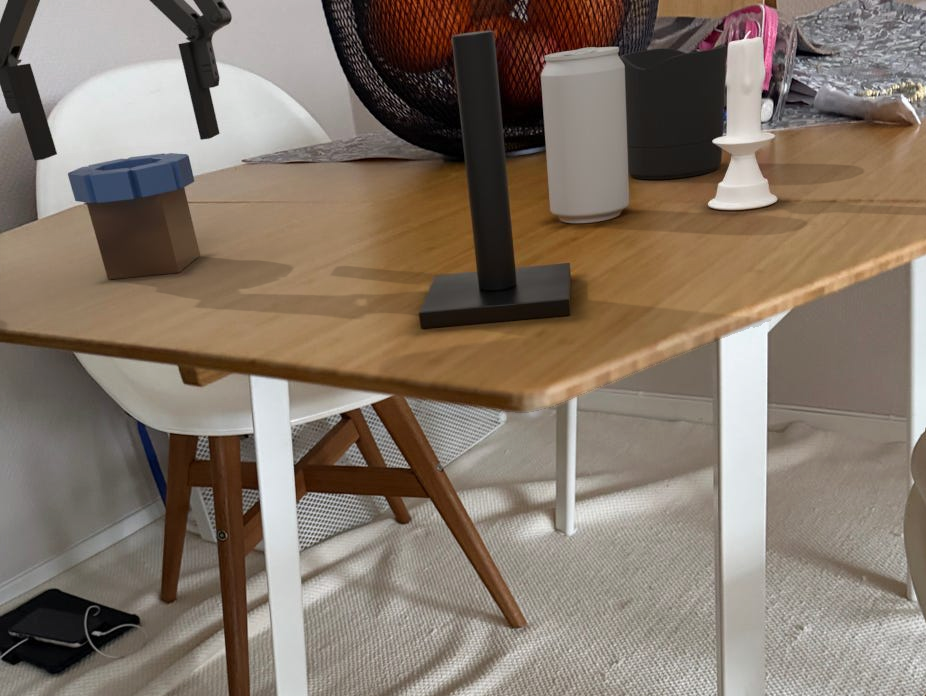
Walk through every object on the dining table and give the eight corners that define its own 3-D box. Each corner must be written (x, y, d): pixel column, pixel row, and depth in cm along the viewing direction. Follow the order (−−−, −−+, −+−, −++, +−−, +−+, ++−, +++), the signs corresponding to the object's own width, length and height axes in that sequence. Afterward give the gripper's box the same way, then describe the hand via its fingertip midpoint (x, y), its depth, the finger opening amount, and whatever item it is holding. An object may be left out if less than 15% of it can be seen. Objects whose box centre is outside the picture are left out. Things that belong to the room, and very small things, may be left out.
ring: (60, 207, 84) (51, 179, 83) (102, 186, 92) (95, 160, 91) (171, 195, 83) (164, 167, 82) (205, 175, 91) (199, 149, 90)
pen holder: (705, 158, 106) (705, 42, 101) (740, 171, 98) (742, 46, 93) (612, 171, 106) (607, 55, 100) (639, 185, 98) (635, 60, 92)
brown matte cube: (107, 279, 88) (85, 201, 85) (133, 262, 93) (113, 187, 90) (178, 272, 88) (159, 193, 84) (200, 255, 93) (182, 180, 90)
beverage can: (539, 226, 88) (526, 58, 81) (567, 208, 92) (557, 48, 86) (614, 224, 85) (607, 51, 79) (640, 206, 90) (635, 41, 83)
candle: (781, 195, 87) (787, 24, 81) (771, 209, 83) (776, 30, 77) (715, 198, 89) (715, 31, 83) (701, 212, 85) (701, 38, 79)
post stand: (420, 328, 66) (382, 48, 58) (436, 290, 73) (404, 37, 66) (570, 315, 65) (551, 27, 57) (570, 277, 72) (554, 19, 65)
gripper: (227, -211, 76) (291, 121, 87) (-102, -156, 79) (0, 158, 90) (196, -226, 70) (269, 134, 81) (-161, -165, 73) (-44, 173, 84)
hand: (127, 147), depth 86 cm, fingers open, 13 cm apart
